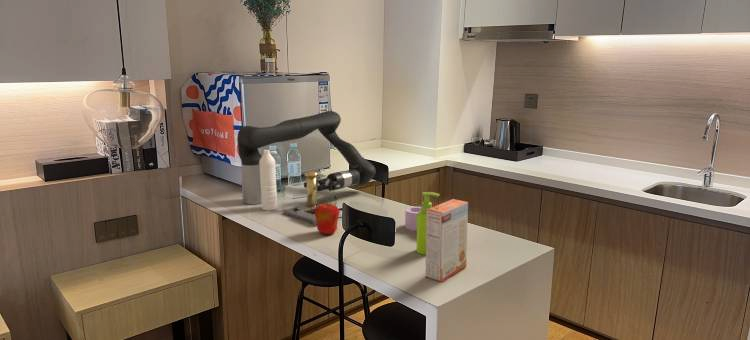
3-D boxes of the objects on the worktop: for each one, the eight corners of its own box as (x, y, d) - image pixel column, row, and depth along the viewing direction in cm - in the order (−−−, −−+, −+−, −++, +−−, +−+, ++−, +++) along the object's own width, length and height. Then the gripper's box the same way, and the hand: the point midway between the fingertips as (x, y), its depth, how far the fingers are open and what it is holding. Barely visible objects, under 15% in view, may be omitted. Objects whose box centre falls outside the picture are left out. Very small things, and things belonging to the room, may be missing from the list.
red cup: (310, 234, 181) (310, 203, 179) (323, 227, 189) (323, 197, 186) (331, 238, 177) (330, 206, 175) (343, 231, 185) (343, 200, 182)
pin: (302, 207, 213) (301, 172, 210) (313, 204, 217) (312, 170, 214) (311, 210, 209) (310, 174, 206) (321, 207, 213) (320, 172, 210)
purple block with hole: (399, 230, 187) (399, 212, 185) (416, 221, 197) (417, 204, 195) (447, 241, 175) (447, 222, 174) (463, 231, 185) (464, 213, 183)
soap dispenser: (436, 255, 163) (438, 195, 158) (415, 253, 164) (416, 194, 159) (438, 248, 168) (440, 191, 164) (417, 247, 169) (418, 189, 165)
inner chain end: (283, 213, 205) (283, 208, 204) (300, 208, 211) (300, 204, 211) (313, 224, 192) (313, 219, 192) (331, 218, 199) (330, 213, 198)
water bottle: (258, 208, 212) (255, 150, 206) (270, 205, 216) (267, 147, 211) (272, 212, 206) (269, 152, 201) (284, 208, 211) (281, 150, 206)
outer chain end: (297, 218, 199) (296, 209, 198) (314, 213, 205) (314, 204, 204) (318, 226, 190) (318, 217, 189) (336, 220, 197) (336, 211, 196)
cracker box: (450, 262, 157) (452, 197, 153) (466, 267, 153) (469, 201, 149) (423, 276, 147) (425, 208, 142) (441, 283, 143) (443, 212, 138)
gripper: (328, 169, 226) (299, 175, 215) (350, 174, 217) (321, 181, 205) (328, 185, 228) (300, 192, 216) (350, 191, 218) (322, 199, 207)
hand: (310, 187), depth 211 cm, fingers open, 8 cm apart
